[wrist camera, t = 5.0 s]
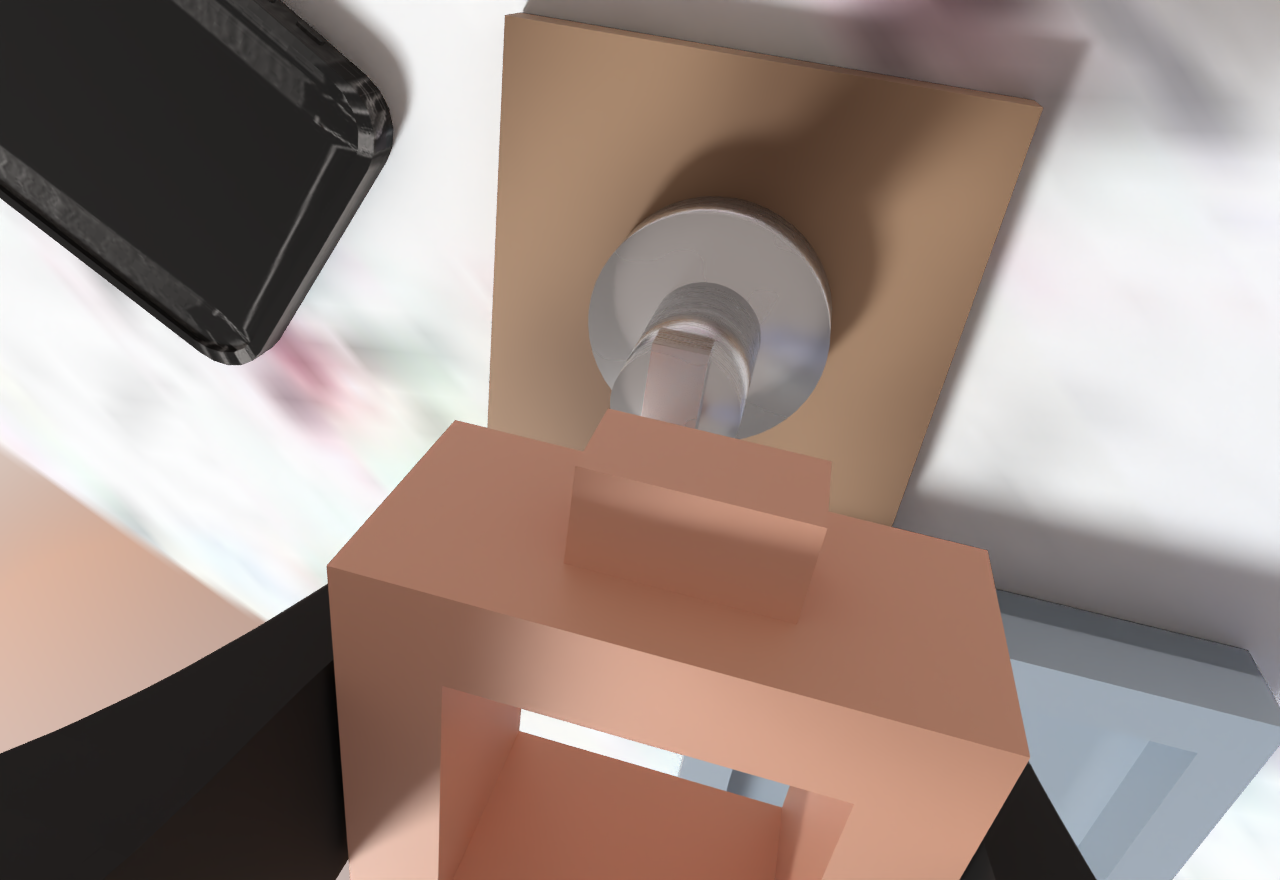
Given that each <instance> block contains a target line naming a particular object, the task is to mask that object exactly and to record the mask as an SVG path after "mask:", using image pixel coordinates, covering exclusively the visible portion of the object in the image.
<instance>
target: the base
mask: <svg viewBox="0 0 1280 880" xmlns="http://www.w3.org/2000/svg"><path fill="white" fill-rule="evenodd" d="M1042 110H1043V107H1042V106H1040V105H1039V104H1038V103H1037V102H1036V101H1035V100H1029V99H1023V98H1017V97H1012V96H1006V95H1000V94H994V93H988V92H982V91H977V90H971V89H965V88H959V87H953V86H947V85H942V84H936V83H930V82H924V81H918V80H912V79H906V78H901V77H895V76H889V75H883V74H877V73H871V72H866V71H860V70H854V69H848V68H842V67H836V66H831V65H825V64H819V63H813V62H807V61H801V60H795V59H790V58H784V57H778V56H772V55H766V54H760V53H755V52H749V51H743V50H737V49H731V48H725V47H720V46H714V45H708V44H702V43H696V42H690V41H684V40H679V39H673V38H667V37H661V36H655V35H649V34H644V33H638V32H632V31H626V30H620V29H614V28H609V27H603V26H597V25H591V24H585V23H579V22H574V21H568V20H562V19H556V18H550V17H544V16H538V15H533V14H527V13H515V14H509V15H505V27H504V50H503V74H502V98H501V121H500V145H499V169H498V192H497V216H496V239H495V263H494V287H493V310H492V334H491V358H490V381H489V405H488V428H489V429H493V430H497V431H502V432H506V433H510V434H514V435H518V436H522V437H526V438H530V439H534V440H538V441H542V442H547V443H551V444H555V445H559V446H563V447H567V448H571V449H575V450H579V451H584V449H585V448H586V446H587V444H588V442H589V441H590V439H591V437H592V435H593V434H594V432H595V430H596V428H597V427H598V425H599V423H600V421H601V420H602V418H603V416H604V414H605V413H606V411H607V409H608V408H609V409H610V396H611V392H612V390H611V389H610V387H609V386H608V384H607V383H606V381H605V380H604V378H603V376H602V374H601V372H600V370H599V368H598V366H597V363H596V361H595V358H594V355H593V352H592V348H591V344H590V339H589V329H588V314H589V305H590V300H591V295H592V292H593V289H594V286H595V283H596V280H597V278H598V276H599V274H600V272H601V270H602V268H603V267H604V265H605V264H606V262H607V261H608V260H609V258H610V257H611V255H612V254H613V253H614V252H615V250H616V249H617V248H618V247H619V246H620V244H621V243H622V242H623V241H624V240H625V238H626V237H627V236H628V235H629V234H630V233H631V232H632V231H633V230H634V228H635V227H636V226H637V225H639V224H640V223H641V222H642V221H643V220H645V219H646V218H647V217H648V216H650V215H652V214H653V213H655V212H657V211H658V210H660V209H662V208H664V207H666V206H669V205H671V204H673V203H676V202H679V201H683V200H686V199H690V198H697V197H704V196H723V197H731V198H738V199H742V200H746V201H749V202H753V203H755V204H758V205H760V206H763V207H765V208H767V209H769V210H771V211H773V212H774V213H776V214H778V215H780V216H781V217H783V218H784V219H785V220H787V221H788V222H789V223H790V224H792V225H793V226H794V227H795V228H796V229H797V230H798V231H799V232H800V233H801V234H802V235H803V236H804V237H805V238H806V239H807V241H808V242H809V243H810V245H811V246H812V247H813V249H814V250H815V252H816V254H817V255H818V257H819V259H820V261H821V263H822V265H823V267H824V270H825V272H826V275H827V278H828V282H829V286H830V290H831V299H832V321H831V333H830V346H829V351H828V356H827V361H826V364H825V367H824V370H823V373H822V376H821V377H820V379H819V381H818V383H817V385H816V387H815V389H814V390H813V392H812V393H811V394H810V396H809V397H808V399H807V400H806V401H805V402H804V403H803V404H802V405H801V406H800V408H799V409H798V410H797V411H796V412H794V413H793V414H792V415H791V416H789V417H788V418H787V419H786V420H784V421H783V422H781V423H779V424H778V425H776V426H775V427H773V428H771V429H769V430H767V431H764V432H762V433H760V434H757V435H754V436H750V437H747V438H743V439H740V440H744V441H748V442H752V443H757V444H761V445H765V446H769V447H773V448H778V449H782V450H786V451H790V452H795V453H799V454H803V455H807V456H811V457H816V458H820V459H824V460H828V461H832V467H831V482H830V498H829V512H833V513H837V514H841V515H845V516H849V517H853V518H857V519H861V520H865V521H870V522H874V523H878V524H882V525H886V526H890V527H892V525H893V523H894V520H895V517H896V514H897V511H898V509H899V506H900V503H901V500H902V498H903V495H904V492H905V489H906V487H907V484H908V481H909V478H910V475H911V473H912V470H913V467H914V464H915V462H916V459H917V456H918V453H919V450H920V448H921V445H922V442H923V439H924V437H925V434H926V431H927V428H928V426H929V423H930V420H931V417H932V414H933V412H934V409H935V406H936V403H937V401H938V398H939V395H940V392H941V390H942V387H943V384H944V381H945V378H946V376H947V373H948V370H949V367H950V365H951V362H952V359H953V356H954V354H955V351H956V348H957V345H958V342H959V340H960V337H961V334H962V331H963V329H964V326H965V323H966V320H967V318H968V315H969V312H970V309H971V306H972V304H973V301H974V298H975V295H976V293H977V290H978V287H979V284H980V282H981V279H982V276H983V273H984V270H985V268H986V265H987V262H988V259H989V257H990V254H991V251H992V248H993V245H994V243H995V240H996V237H997V234H998V232H999V229H1000V226H1001V223H1002V221H1003V218H1004V215H1005V212H1006V209H1007V207H1008V204H1009V201H1010V198H1011V196H1012V193H1013V190H1014V187H1015V185H1016V182H1017V179H1018V176H1019V173H1020V171H1021V168H1022V165H1023V162H1024V160H1025V157H1026V154H1027V151H1028V149H1029V146H1030V143H1031V140H1032V137H1033V135H1034V132H1035V129H1036V126H1037V124H1038V121H1039V118H1040V115H1041V113H1042Z"/></svg>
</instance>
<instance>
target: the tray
mask: <svg viewBox="0 0 1280 880" xmlns="http://www.w3.org/2000/svg"><path fill="white" fill-rule="evenodd" d="M996 593H997V598H998V603H999V608H1000V613H1001V618H1002V622H1003V627H1004V632H1005V637H1006V642H1007V647H1008V652H1009V656H1010V661H1011V666H1012V671H1013V676H1014V681H1015V685H1016V690H1017V695H1018V700H1019V705H1020V710H1021V715H1022V719H1023V724H1024V729H1025V734H1026V739H1027V744H1028V749H1029V753H1030V759H1029V762H1030V764H1031V766H1032V768H1033V770H1034V772H1035V773H1036V775H1037V777H1038V779H1039V781H1040V783H1041V784H1042V786H1043V788H1044V790H1045V792H1046V793H1047V795H1048V797H1049V799H1050V801H1051V802H1052V804H1053V806H1054V808H1055V809H1056V811H1057V813H1058V815H1059V816H1060V818H1061V820H1062V822H1063V823H1064V825H1065V827H1066V828H1067V830H1068V832H1069V834H1070V835H1071V837H1072V839H1073V840H1074V842H1075V844H1076V845H1077V847H1078V849H1079V851H1080V852H1081V854H1082V856H1083V857H1084V859H1085V861H1086V863H1087V864H1088V866H1089V868H1090V869H1091V871H1092V873H1093V874H1094V876H1095V878H1096V879H1097V880H1172V879H1173V878H1174V877H1175V876H1176V874H1177V873H1178V872H1179V871H1180V869H1181V868H1182V867H1183V866H1184V864H1185V863H1186V862H1187V861H1188V859H1189V858H1190V857H1191V856H1192V854H1193V853H1194V852H1195V851H1196V849H1197V848H1198V847H1199V846H1200V844H1201V843H1202V842H1203V841H1204V839H1205V838H1206V837H1207V836H1208V834H1209V833H1210V832H1211V831H1212V829H1213V828H1214V827H1215V826H1216V824H1217V823H1218V822H1219V821H1220V819H1221V818H1222V817H1223V816H1224V814H1225V813H1226V812H1227V811H1228V809H1229V808H1230V807H1231V806H1232V804H1233V803H1234V802H1235V801H1236V799H1237V798H1238V797H1239V796H1240V794H1241V793H1242V792H1243V791H1244V789H1245V788H1246V787H1247V786H1248V784H1249V783H1250V782H1251V781H1252V779H1253V778H1254V777H1255V776H1256V774H1257V773H1258V772H1259V771H1260V769H1261V768H1262V767H1263V766H1264V764H1265V763H1266V762H1267V761H1268V759H1269V758H1270V757H1271V756H1272V754H1273V753H1274V752H1275V751H1276V749H1277V748H1278V747H1279V746H1280V707H1279V705H1278V703H1277V702H1276V700H1275V698H1274V696H1273V694H1272V693H1271V691H1270V689H1269V687H1268V685H1267V684H1266V682H1265V680H1264V678H1263V676H1262V675H1261V673H1260V671H1259V669H1258V667H1257V666H1256V664H1255V662H1254V660H1253V658H1252V657H1251V655H1250V653H1249V651H1248V650H1244V649H1240V648H1236V647H1232V646H1228V645H1223V644H1219V643H1215V642H1211V641H1207V640H1203V639H1199V638H1195V637H1191V636H1186V635H1182V634H1178V633H1174V632H1170V631H1166V630H1162V629H1158V628H1153V627H1149V626H1145V625H1141V624H1137V623H1133V622H1129V621H1125V620H1120V619H1116V618H1112V617H1108V616H1104V615H1100V614H1096V613H1092V612H1088V611H1083V610H1079V609H1075V608H1071V607H1067V606H1063V605H1059V604H1055V603H1050V602H1046V601H1042V600H1038V599H1034V598H1030V597H1026V596H1022V595H1017V594H1013V593H1009V592H1005V591H1001V590H997V589H996ZM678 777H679V778H683V779H686V780H689V781H693V782H696V783H700V784H703V785H707V786H710V787H714V788H717V789H720V790H724V791H727V792H731V793H734V794H738V795H741V796H745V797H748V798H751V799H755V800H758V801H762V802H765V803H769V804H772V805H775V806H779V807H782V806H783V803H784V800H785V798H786V795H787V792H788V789H789V787H790V786H789V785H786V784H782V783H779V782H775V781H772V780H768V779H765V778H761V777H758V776H755V775H751V774H748V773H744V772H741V771H737V770H734V769H730V768H727V767H723V766H720V765H716V764H713V763H709V762H706V761H702V760H699V759H695V758H692V757H688V756H685V755H683V758H682V762H681V766H680V770H679V774H678Z"/></svg>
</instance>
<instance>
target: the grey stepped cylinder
mask: <svg viewBox="0 0 1280 880" xmlns="http://www.w3.org/2000/svg"><path fill="white" fill-rule="evenodd" d="M831 321H832V299H831V290H830V286H829V282H828V278H827V275H826V272H825V270H824V267H823V265H822V263H821V261H820V259H819V257H818V255H817V254H816V252H815V250H814V249H813V247H812V246H811V245H810V243H809V242H808V241H807V239H806V238H805V237H804V236H803V235H802V234H801V233H800V232H799V231H798V230H797V229H796V228H795V227H794V226H793V225H792V224H790V223H789V222H788V221H787V220H785V219H784V218H783V217H781V216H780V215H778V214H776V213H774V212H773V211H771V210H769V209H767V208H765V207H763V206H760V205H758V204H755V203H753V202H749V201H746V200H742V199H738V198H731V197H723V196H704V197H697V198H690V199H686V200H683V201H679V202H676V203H673V204H671V205H669V206H666V207H664V208H662V209H660V210H658V211H657V212H655V213H653V214H652V215H650V216H648V217H647V218H646V219H645V220H643V221H642V222H641V223H640V224H639V225H637V226H636V227H635V228H634V230H633V231H632V232H631V233H630V234H629V235H628V236H627V237H626V238H625V240H624V241H623V242H622V243H621V244H620V246H619V247H618V248H617V249H616V250H615V252H614V253H613V254H612V255H611V257H610V258H609V260H608V261H607V262H606V264H605V265H604V267H603V268H602V270H601V272H600V274H599V276H598V278H597V280H596V283H595V286H594V289H593V292H592V295H591V300H590V305H589V314H588V329H589V339H590V344H591V348H592V352H593V355H594V358H595V361H596V363H597V366H598V368H599V370H600V372H601V374H602V376H603V378H604V380H605V381H606V383H607V384H608V386H609V387H610V389H611V390H612V392H611V396H610V409H613V410H617V411H622V412H626V413H630V414H634V415H638V416H643V417H647V418H651V419H655V420H660V421H664V422H668V423H672V424H676V425H681V426H685V427H689V428H693V429H697V430H702V431H706V432H710V433H714V434H719V435H723V436H727V437H731V438H735V439H743V438H747V437H750V436H754V435H757V434H760V433H762V432H764V431H767V430H769V429H771V428H773V427H775V426H776V425H778V424H779V423H781V422H783V421H784V420H786V419H787V418H788V417H789V416H791V415H792V414H793V413H794V412H796V411H797V410H798V409H799V408H800V406H801V405H802V404H803V403H804V402H805V401H806V400H807V399H808V397H809V396H810V394H811V393H812V392H813V390H814V389H815V387H816V385H817V383H818V381H819V379H820V377H821V376H822V373H823V370H824V367H825V364H826V361H827V356H828V351H829V346H830V333H831Z"/></svg>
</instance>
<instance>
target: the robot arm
mask: <svg viewBox="0 0 1280 880" xmlns="http://www.w3.org/2000/svg"><path fill="white" fill-rule="evenodd" d="M348 859H349V858H348V845H347V831H346V818H345V805H344V791H343V778H342V765H341V751H340V738H339V724H338V711H337V698H336V684H335V671H334V657H333V644H332V631H331V617H330V604H329V591H328V584H327V585H325V586H323V587H322V588H320V589H319V590H317V591H315V592H314V593H312V594H311V595H309V596H307V597H306V598H304V599H302V600H301V601H299V602H298V603H296V604H294V605H293V606H291V607H290V608H288V609H286V610H285V611H283V612H281V613H280V614H278V615H277V616H275V617H273V618H272V619H270V620H268V621H267V622H265V623H264V624H262V625H260V626H258V627H257V628H256V629H253V630H252V631H250V632H248V633H247V634H245V635H243V636H241V637H239V638H238V639H236V640H234V641H232V642H230V643H229V644H227V645H225V646H223V647H222V648H220V649H218V650H216V651H214V652H213V653H211V654H209V655H207V656H206V657H204V658H202V659H200V660H198V661H197V662H195V663H193V664H191V665H190V666H188V667H186V668H184V669H182V670H180V671H179V672H177V673H175V674H173V675H171V676H169V677H167V678H165V679H163V680H161V681H159V682H157V683H156V684H154V685H152V686H150V687H148V688H146V689H144V690H142V691H140V692H138V693H136V694H134V695H132V696H130V697H128V698H126V699H123V700H121V701H119V702H117V703H115V704H113V705H111V706H109V707H106V708H104V709H102V710H100V711H98V712H96V713H94V714H92V715H89V716H88V717H85V718H83V719H81V720H79V721H77V722H74V723H72V724H70V725H68V726H65V727H63V728H61V729H59V730H56V731H54V732H52V733H49V734H47V735H44V736H42V737H40V738H37V739H35V740H32V741H30V742H27V743H25V744H23V745H20V746H18V747H15V748H13V749H10V750H8V751H5V752H3V753H1V754H0V880H336V878H337V877H338V875H339V873H340V872H341V870H342V868H343V867H344V865H345V864H346V862H347V860H348ZM960 880H1097V879H1096V878H1095V876H1094V874H1093V873H1092V871H1091V869H1090V868H1089V866H1088V864H1087V863H1086V861H1085V859H1084V857H1083V856H1082V854H1081V852H1080V851H1079V849H1078V847H1077V845H1076V844H1075V842H1074V840H1073V839H1072V837H1071V835H1070V834H1069V832H1068V830H1067V828H1066V827H1065V825H1064V823H1063V822H1062V820H1061V818H1060V816H1059V815H1058V813H1057V811H1056V809H1055V808H1054V806H1053V804H1052V802H1051V801H1050V799H1049V797H1048V795H1047V793H1046V792H1045V790H1044V788H1043V786H1042V784H1041V783H1040V781H1039V779H1038V777H1037V775H1036V773H1035V772H1034V770H1033V768H1032V766H1031V764H1030V762H1029V761H1028V763H1027V764H1026V766H1025V768H1024V770H1023V771H1022V773H1021V775H1020V776H1019V778H1018V780H1017V782H1016V783H1015V785H1014V787H1013V788H1012V790H1011V792H1010V794H1009V795H1008V797H1007V799H1006V801H1005V802H1004V804H1003V806H1002V807H1001V809H1000V811H999V813H998V814H997V816H996V818H995V819H994V821H993V823H992V825H991V826H990V828H989V830H988V831H987V833H986V835H985V837H984V838H983V840H982V842H981V843H980V845H979V847H978V849H977V850H976V852H975V854H974V855H973V857H972V859H971V861H970V862H969V864H968V866H967V868H966V869H965V871H964V873H963V874H962V876H961V878H960Z"/></svg>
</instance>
